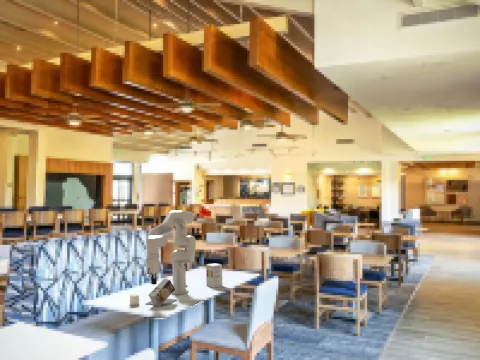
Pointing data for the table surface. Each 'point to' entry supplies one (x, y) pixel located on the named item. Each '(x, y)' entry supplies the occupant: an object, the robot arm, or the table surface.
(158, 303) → the coffee box
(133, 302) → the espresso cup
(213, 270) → the supplement box
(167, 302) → the slate mat
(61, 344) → the table surface
